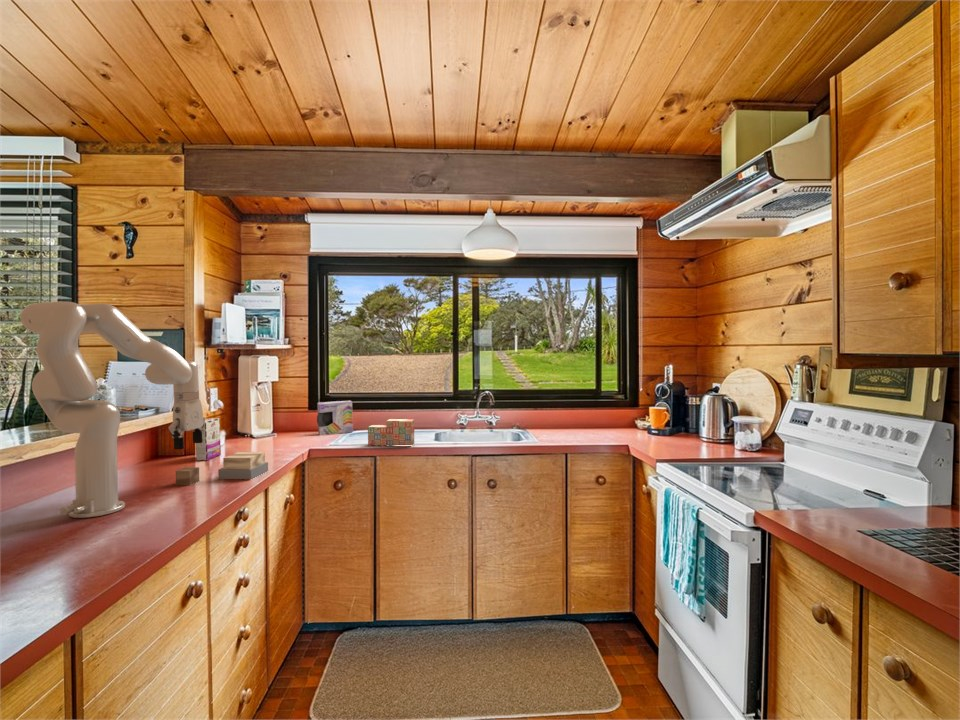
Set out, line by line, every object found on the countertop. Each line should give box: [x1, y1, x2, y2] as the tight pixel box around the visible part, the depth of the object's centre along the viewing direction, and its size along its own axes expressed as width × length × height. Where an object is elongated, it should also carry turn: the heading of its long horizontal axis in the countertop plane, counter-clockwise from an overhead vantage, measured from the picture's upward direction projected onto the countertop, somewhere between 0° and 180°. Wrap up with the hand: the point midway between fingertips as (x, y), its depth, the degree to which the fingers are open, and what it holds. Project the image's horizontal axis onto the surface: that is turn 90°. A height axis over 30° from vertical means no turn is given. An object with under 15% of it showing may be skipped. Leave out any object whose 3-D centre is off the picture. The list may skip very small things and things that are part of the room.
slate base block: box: [217, 461, 269, 480], centre depth 179 cm, size 12×12×4 cm
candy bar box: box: [195, 417, 222, 461], centre depth 209 cm, size 11×5×16 cm, turn 0°
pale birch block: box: [222, 451, 266, 469], centre depth 179 cm, size 10×10×4 cm
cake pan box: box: [316, 400, 354, 436], centre depth 269 cm, size 19×5×18 cm, turn 119°
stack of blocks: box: [367, 418, 415, 446], centre depth 235 cm, size 21×6×12 cm, turn 84°
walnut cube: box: [175, 466, 200, 486], centre depth 169 cm, size 5×5×5 cm
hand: (188, 446), depth 169 cm, fingers open, 9 cm apart
